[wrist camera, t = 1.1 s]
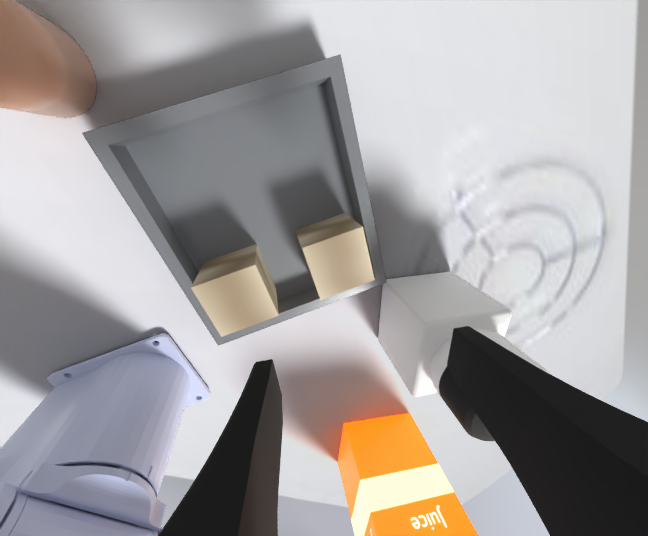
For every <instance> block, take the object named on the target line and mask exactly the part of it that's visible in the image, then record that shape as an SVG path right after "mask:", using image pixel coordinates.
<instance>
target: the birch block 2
mask: <svg viewBox="0 0 648 536" xmlns="http://www.w3.org/2000/svg"><path fill="white" fill-rule="evenodd" d="M295 232H296V235H297V238H298V240H299V243H300V246H301V249H302V252H303V254H304V257H305V260H306V263H307V266H308V268H309V271H310V274H311V277H312V279H313V282H314V284H315V287H316V290H317V292H318V295H319V297H320V300H322V299H325V298H328V297H330V296H333V295H336V294H338V293H341V292H344V291H346V290H349V289H352V288H354V287H357V286H360V285H362V284H365V283H368V282H371V281H373V280H375V278H374V274H373V269H372V265H371V261H370V256H369V252H368V247H367V243H366V238H365V234H364V230H363V226H361V225H360V224H359V223H357V222H356V221H355V220H353V219H352V218H351V217H349V216H348V215H347V214H345V213H343V214H340V215H337V216H335V217H332V218H329V219H326V220H323V221H320V222H317V223H315V224H312V225H309V226H306V227H303V228H300V229H297V230H295Z"/></svg>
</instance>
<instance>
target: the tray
mask: <svg viewBox="0 0 648 536" xmlns="http://www.w3.org/2000/svg"><path fill="white" fill-rule="evenodd" d="M82 134H83V136H84V137H85V139H86V140H87V142H88V143H89V145H90V146H91V148H92V150H93V151H94V153H95V154H96V156H97V157H98V159H99V161H100V162H101V164H102V165H103V167H104V168H105V170H106V171H107V173H108V175H109V176H110V178H111V179H112V181H113V182H114V184H115V185H116V187H117V189H118V190H119V192H120V193H121V195H122V196H123V198H124V199H125V201H126V203H127V204H128V206H129V207H130V209H131V210H132V212H133V214H134V215H135V217H136V218H137V220H138V221H139V223H140V224H141V226H142V228H143V229H144V231H145V232H146V234H147V235H148V237H149V238H150V240H151V242H152V243H153V245H154V246H155V248H156V249H157V251H158V252H159V254H160V256H161V257H162V259H163V260H164V262H165V263H166V265H167V266H168V268H169V270H170V271H171V273H172V274H173V276H174V277H175V279H176V281H177V282H178V284H179V285H180V287H181V288H182V290H183V291H184V293H185V295H186V296H187V298H188V299H189V301H190V302H191V304H192V305H193V307H194V309H195V310H196V312H197V313H198V315H199V316H200V318H201V319H202V321H203V323H204V324H205V326H206V327H207V329H208V330H209V332H210V333H211V335H212V337H213V338H214V340H215V341H216V343H217V344H218V346H219V345H221V344H224V343H227V342H229V341H232V340H235V339H237V338H240V337H243V336H245V335H248V334H251V333H253V332H256V331H259V330H261V329H264V328H267V327H269V326H272V325H275V324H277V323H280V322H283V321H285V320H288V319H291V318H293V317H296V316H299V315H301V314H304V313H307V312H309V311H312V310H315V309H317V308H320V307H323V306H325V305H328V304H331V303H333V302H336V301H339V300H341V299H344V298H347V297H349V296H352V295H355V294H357V293H360V292H363V291H365V290H368V289H371V288H374V287H376V286H379V285H382V284H384V283H387V282H386V277H385V272H384V267H383V262H382V257H381V252H380V247H379V242H378V237H377V232H376V227H375V222H374V217H373V212H372V208H371V203H370V198H369V193H368V188H367V183H366V178H365V173H364V168H363V163H362V158H361V153H360V148H359V143H358V138H357V133H356V129H355V124H354V119H353V114H352V109H351V104H350V99H349V94H348V89H347V84H346V79H345V74H344V69H343V64H342V59H341V55H337V56H334V57H331V58H327V59H324V60H321V61H318V62H314V63H311V64H308V65H304V66H301V67H298V68H295V69H291V70H288V71H285V72H281V73H278V74H275V75H271V76H268V77H265V78H262V79H258V80H255V81H252V82H248V83H245V84H242V85H239V86H235V87H232V88H229V89H225V90H222V91H219V92H216V93H212V94H209V95H206V96H202V97H199V98H196V99H192V100H189V101H186V102H183V103H179V104H176V105H173V106H169V107H166V108H163V109H160V110H156V111H153V112H150V113H146V114H143V115H140V116H137V117H133V118H130V119H127V120H123V121H120V122H117V123H113V124H110V125H107V126H104V127H100V128H97V129H94V130H90V131H87V132H84V133H82ZM343 213H345V214H347V215H348V216H349V217H351V218H352V219H353V220H355V221H356V222H357V223H359V224H360V225H361V226H363V230H364V234H365V238H366V243H367V247H368V252H369V256H370V261H371V265H372V269H373V274H374V278H375V280H373V281H371V282H368V283H365V284H362V285H360V286H357V287H354V288H352V289H349V290H346V291H344V292H341V293H338V294H336V295H333V296H330V297H328V298H325V299H322V300H320V297H319V295H318V292H317V290H316V287H315V284H314V282H313V279H312V277H311V274H310V271H309V268H308V266H307V263H306V260H305V257H304V254H303V252H302V249H301V246H300V243H299V240H298V238H297V235H296V232H295V230H297V229H300V228H303V227H306V226H309V225H312V224H315V223H317V222H320V221H323V220H326V219H329V218H332V217H335V216H337V215H340V214H343ZM255 244H257V246H258V248H259V250H260V252H261V255H262V257H263V259H264V262H265V264H266V266H267V268H268V271H269V273H270V275H271V277H272V280H273V282H274V284H275V287H276V293H277V303H278V313H279V316H276V317H274V318H271V319H268V320H266V321H263V322H260V323H258V324H255V325H252V326H250V327H247V328H244V329H242V330H239V331H236V332H233V333H231V334H228V335H225V336H223V337H221V336H220V334H219V332H218V331H217V329H216V327H215V326H214V324H213V323H212V321H211V319H210V318H209V316H208V315H207V313H206V311H205V310H204V308H203V307H202V305H201V303H200V302H199V300H198V298H197V297H196V295H195V294H194V292H193V290H192V289H191V286H192V284H193V283H194V281H195V279H196V277H197V275H198V273H199V271H200V269H201V267H202V266H203V264H204V262H206V261H209V260H212V259H214V258H217V257H220V256H223V255H226V254H229V253H232V252H234V251H237V250H240V249H243V248H246V247H249V246H252V245H255Z"/></svg>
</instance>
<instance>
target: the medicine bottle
mask: <svg viewBox="0 0 648 536" xmlns="http://www.w3.org/2000/svg"><path fill="white" fill-rule="evenodd" d="M386 282H387V283H384V284H383V288H382V299H381V311H380V323H379V334H378V340H379V343H380V344H381V346H382V347H383V349H384V351H385V352H386V354H387V356H388V357H389V359H390V360H391V362H392V364H393V365H394V367H395V369H396V370H397V372H398V374H399V375H400V377H401V378H402V380H403V382H404V383H405V385H406V387H407V388H408V390H409V392H410V393H411V395H413V396H414V397H419V396H423V395H428V394H433V393H437V392H438V393H439V395H440V396H441V397H442V399H443V400H444V401H445V403H446V404H447V406H448V407H449V408H450V410H451V411H452V412H453V414H454V415H455V417H456V418H457V419H458V421H459V422H460V423H461V425H462V426H463V428H464V429H465V430H466V432H467V433H468V434H469V435H471V436H472V437H475V438H477V439H480V440H483V441H495V440H494V439H493V437H492V436H491V434H490V433H489V431H488V430H487V428H486V427H485V425H484V424H483V423H482V421H481V420H480V418H479V417H478V415H477V414H476V412H475V411H474V410H473V408H472V407H471V405H470V404H469V402H468V401H467V399H466V398H465V396H464V395H463V393H462V392H461V390H460V389H459V387H458V385H457V383H456V381H455V379H454V378H453V376H452V374H451V372H450V370H449V368H448V366H447V361H448V356H449V350H450V345H451V340H452V334H453V329H454V328H459V327H465V326H469V327H471V328H473V329H474V330H476V331H478V332H480V333H481V334H483V335H485V336H486V337H488V338H489V339H491V340H493V341H494V342H496V343H498V344H499V345H501V346H503V347H504V348H506V349H508V350H509V351H511V352H513V353H514V354H516V355H518V356H519V357H521V358H523V359H524V360H526V361H528V362H529V363H531V364H533V365H535V366H536V367H538V368H540V369H542V370H543V371H545V372H547V373H549V372H548V371H547V370H546V369H545V368H543V367H542V366H541V365H539V364H538V363H537V362H536V361H534V360H533V359H532V358H530V357H529V356H528V355H526V354H525V353H524V352H523V351H521V350H520V349H519V348H517V347H516V346H515V345H513V344H512V343H511V342H510V341H508V340H507V339H506V338H504V337H505V334H506V331H507V328H508V325H509V322H510V319H511V316H512V311H511V310H510V309H509V308H507V307H506V306H504V305H503V304H501V303H500V302H498V301H496V300H495V299H493V298H492V297H490V296H489V295H487V294H485V293H484V292H482V291H481V290H479V289H478V288H476V287H474V286H473V285H471V284H470V283H468V282H467V281H465V280H463V279H462V278H460V277H459V276H457V275H456V274H454V273H452V272H442V273H433V274H425V275H417V276H408V277H400V278H392V279H386ZM549 374H550V373H549Z"/></svg>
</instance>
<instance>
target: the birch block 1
mask: <svg viewBox="0 0 648 536" xmlns="http://www.w3.org/2000/svg"><path fill="white" fill-rule="evenodd" d="M191 289H192V290H193V292H194V294H195V295H196V297H197V298H198V300H199V302H200V303H201V305H202V307H203V308H204V310H205V311H206V313H207V315H208V316H209V318H210V319H211V321H212V323H213V324H214V326H215V327H216V329H217V331H218V332H219V334H220V336H221V337H223V336H225V335H228V334H231V333H233V332H236V331H239V330H242V329H244V328H247V327H250V326H252V325H255V324H258V323H260V322H263V321H266V320H268V319H271V318H274V317H276V316H279V313H278V303H277V293H276V287H275V284H274V282H273V280H272V277H271V275H270V273H269V271H268V268H267V266H266V264H265V262H264V259H263V257H262V255H261V252H260V250H259V248H258V246H257V244H255V245H252V246H249V247H246V248H243V249H240V250H237V251H234V252H232V253H229V254H226V255H223V256H220V257H217V258H214V259H212V260H209V261H206V262H204V264H203V266H202V267H201V269H200V271H199V273H198V275H197V277H196V279H195V281H194V283H193V284H192V286H191Z"/></svg>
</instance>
